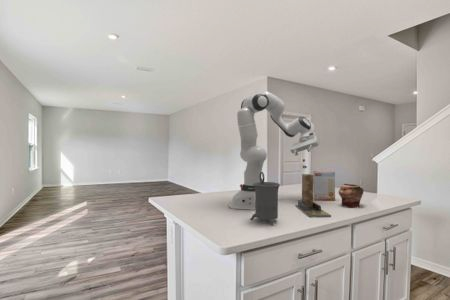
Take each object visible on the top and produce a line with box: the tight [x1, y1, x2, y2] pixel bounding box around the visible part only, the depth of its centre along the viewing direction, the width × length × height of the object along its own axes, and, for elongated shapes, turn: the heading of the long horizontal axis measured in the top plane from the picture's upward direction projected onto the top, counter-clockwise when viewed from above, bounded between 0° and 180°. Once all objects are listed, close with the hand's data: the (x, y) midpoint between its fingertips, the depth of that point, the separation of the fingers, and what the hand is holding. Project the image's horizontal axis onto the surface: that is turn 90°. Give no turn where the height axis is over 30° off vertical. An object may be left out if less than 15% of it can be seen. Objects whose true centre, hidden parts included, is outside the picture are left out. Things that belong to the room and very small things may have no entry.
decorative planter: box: [338, 183, 364, 208], centre depth 163 cm, size 20×12×14 cm, turn 116°
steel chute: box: [295, 199, 332, 218], centre depth 148 cm, size 12×25×4 cm, turn 1°
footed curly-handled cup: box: [250, 171, 281, 227], centre depth 129 cm, size 19×15×25 cm
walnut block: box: [301, 173, 314, 208], centre depth 155 cm, size 5×6×20 cm
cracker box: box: [312, 170, 336, 202], centre depth 181 cm, size 14×6×21 cm, turn 84°
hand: (302, 152), depth 163 cm, fingers open, 8 cm apart
